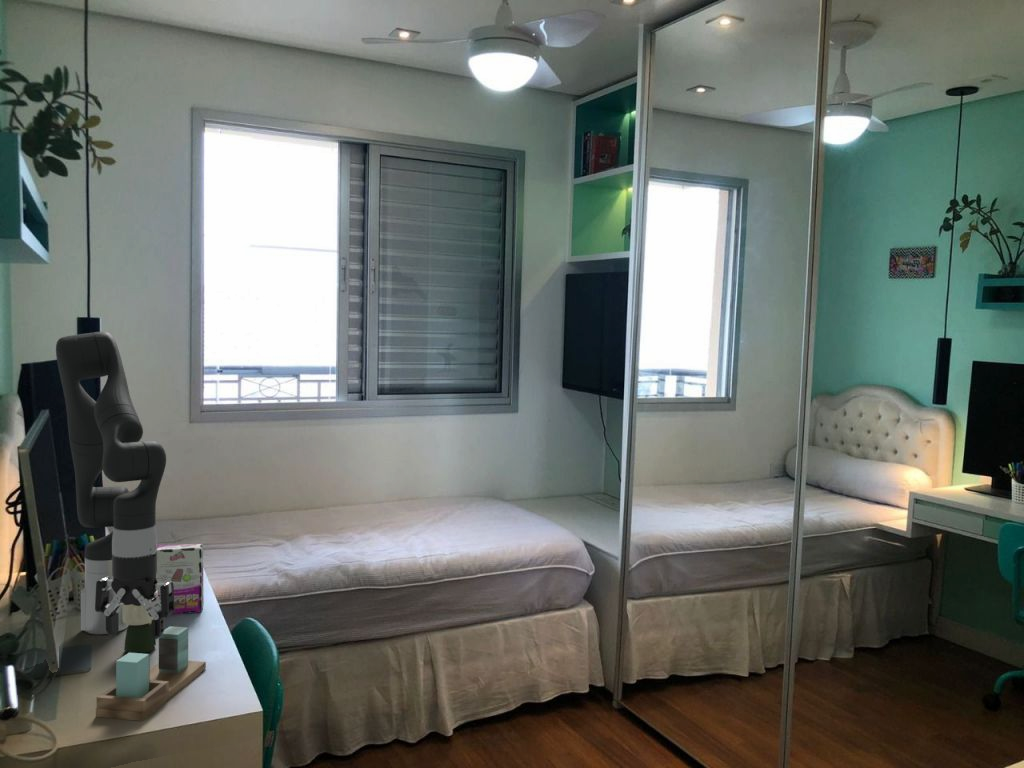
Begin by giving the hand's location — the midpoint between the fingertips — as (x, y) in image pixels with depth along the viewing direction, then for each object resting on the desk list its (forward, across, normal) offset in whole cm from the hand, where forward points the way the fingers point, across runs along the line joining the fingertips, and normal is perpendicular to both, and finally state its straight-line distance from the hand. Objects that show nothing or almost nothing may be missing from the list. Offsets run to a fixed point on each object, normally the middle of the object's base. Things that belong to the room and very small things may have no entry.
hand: (135, 635), depth 150 cm
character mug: (+14, -14, +25) cm, 32 cm away
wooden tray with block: (+14, 0, +6) cm, 15 cm away
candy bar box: (+15, -19, +50) cm, 55 cm away
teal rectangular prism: (+12, 0, 0) cm, 12 cm away
